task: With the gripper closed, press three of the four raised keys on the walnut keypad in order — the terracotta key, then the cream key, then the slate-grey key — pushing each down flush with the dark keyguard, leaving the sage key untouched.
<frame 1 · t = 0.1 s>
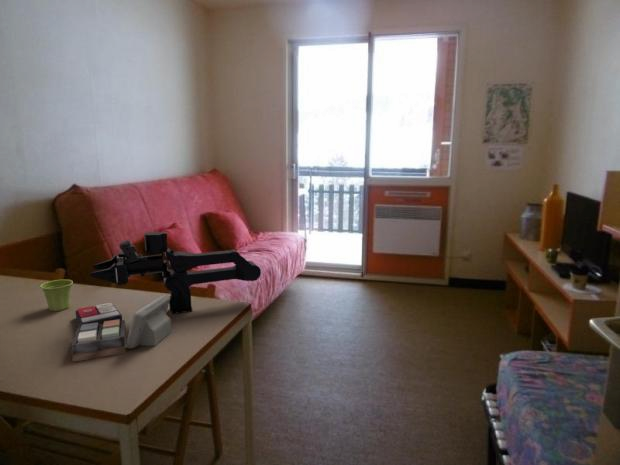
hand: (91, 270, 123), 17 cm above the table, tool horizontal, fingers open, 9 cm apart
key slate: (89, 329, 111), point 4 cm above the table, slide at 0.0 cm
key terracotta: (111, 326, 113), point 4 cm above the table, slide at 0.0 cm
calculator: (99, 323, 126), on the table
keypad: (101, 345, 110), on the table
plant pot: (60, 308, 137), on the table
key sage: (110, 334, 108), point 4 cm above the table, slide at 0.0 cm
key cream: (87, 338, 106), point 4 cm above the table, slide at 0.0 cm
digital clock: (150, 338, 115), on the table
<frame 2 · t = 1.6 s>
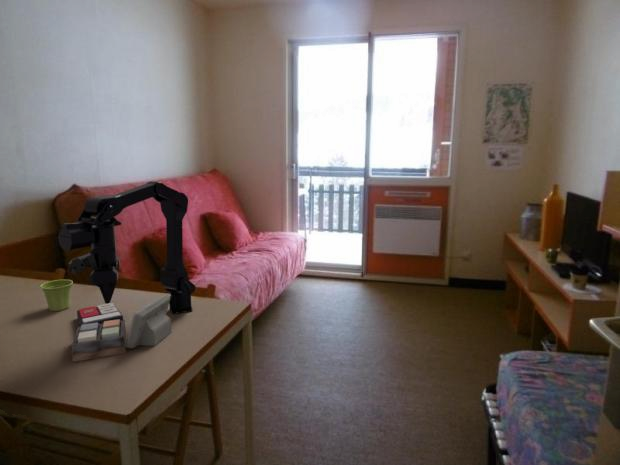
hand: (108, 298, 112), 12 cm above the table, tool pointing down, fingers open, 8 cm apart
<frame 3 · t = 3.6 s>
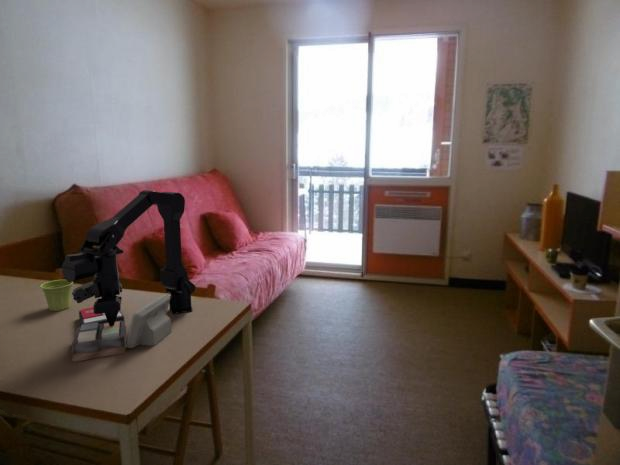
hand: (111, 325, 113), 4 cm above the table, tool pointing down, fingers closed, pressing on key terracotta
key terracotta: (112, 329, 113), point 3 cm above the table, slide at 0.7 cm, touching gripper
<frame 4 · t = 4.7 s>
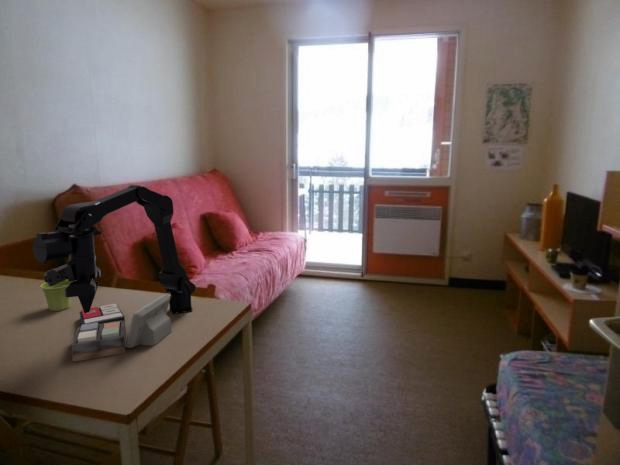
hand: (86, 312, 105), 11 cm above the table, tool pointing down, fingers closed
key terracotta: (112, 329, 113), point 3 cm above the table, slide at 0.8 cm
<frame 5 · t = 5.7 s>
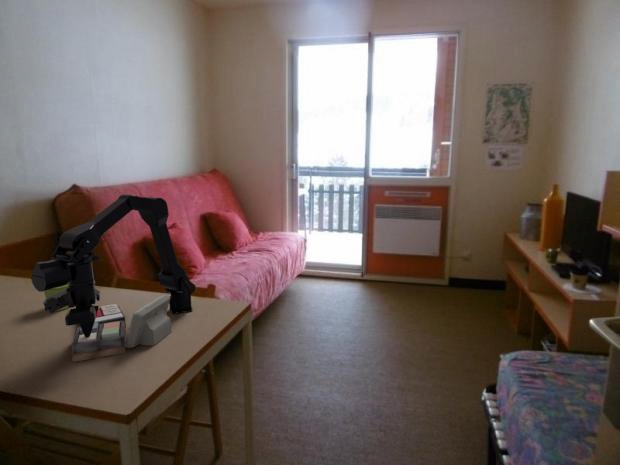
hand: (87, 336, 106), 4 cm above the table, tool pointing down, fingers closed, pressing on key cream
key cream: (87, 340, 106), point 3 cm above the table, slide at 0.7 cm, touching gripper
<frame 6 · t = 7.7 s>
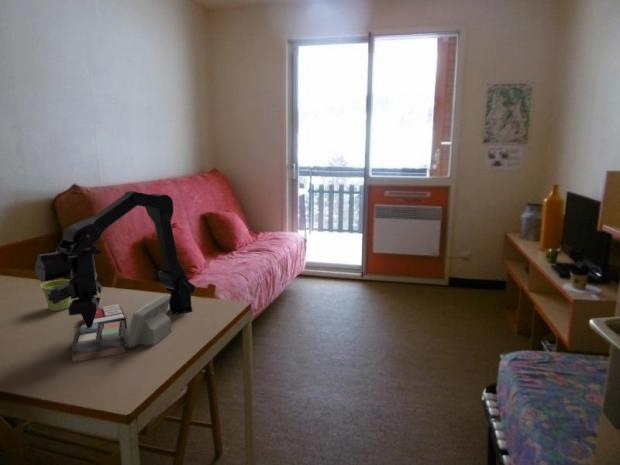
hand: (89, 326, 111), 5 cm above the table, tool pointing down, fingers closed, pressing on key slate
key slate: (89, 330, 111), point 4 cm above the table, slide at 0.2 cm, touching gripper
key cream: (87, 340, 106), point 3 cm above the table, slide at 0.7 cm
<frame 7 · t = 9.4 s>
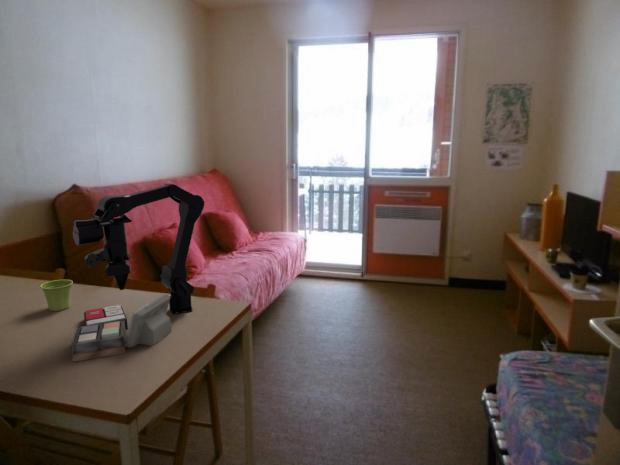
hand: (121, 289, 121), 12 cm above the table, tool pointing down, fingers closed
key slate: (89, 332, 111), point 3 cm above the table, slide at 0.7 cm
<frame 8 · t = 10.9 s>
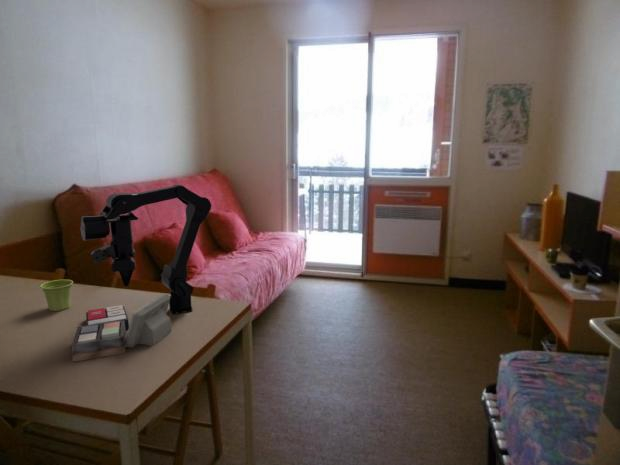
hand: (126, 285, 123), 12 cm above the table, tool pointing down, fingers closed
at the end: key terracotta slide at 0.8 cm; key cream slide at 0.7 cm; key slate slide at 0.7 cm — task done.
